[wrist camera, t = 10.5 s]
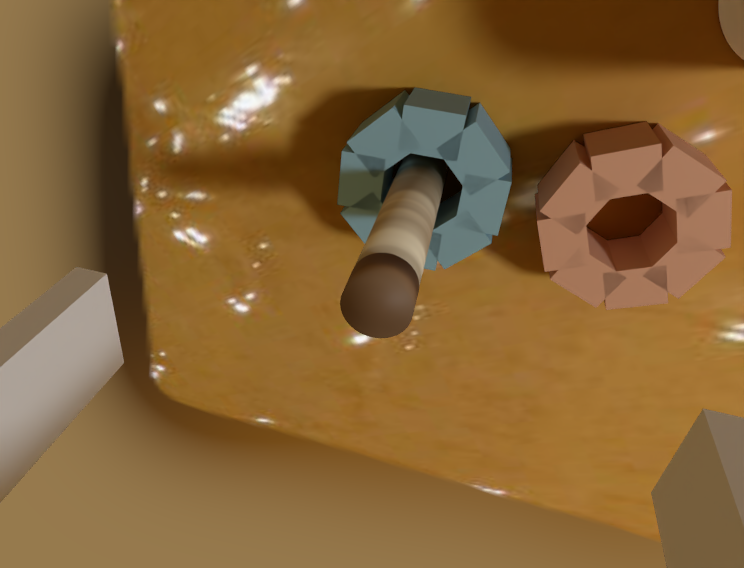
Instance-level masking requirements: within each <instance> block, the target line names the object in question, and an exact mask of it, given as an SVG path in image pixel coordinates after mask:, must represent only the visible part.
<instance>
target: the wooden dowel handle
mask: <svg viewBox="0 0 744 568" xmlns="http://www.w3.org/2000/svg"><path fill="white" fill-rule="evenodd" d="M446 175H447V165H446V162H445V160H444V159H439V158H434V157H428V156H423V155H417V154H412V153H410V154H408V155H407V156H406V157H404V158H403V160H402V162H401V165H400V167H399V169H398V171H397V174H396V176H395V178H394V180H393V182H392V185H391V187H390V189H389V191H388V194H387V196H386V198H385V200H384V203H383V205H382V207H381V209H380V212H379V214H378V216H377V218H376V221H375V223H374V225H373V227H372V229H371V232H370V234H369V236H368V238H367V241H366V243H365V245H364V247H363V250H362V252H361V254H360V256H359V259H358V261H357V263H356V265H355V267H354V269H353V271H352V273H351V275H350V277H349V280H348V282H347V284H346V286H345V289H344V291H343V293H342V296H341V300H340V306H341V311H342V314H343V316H344V318H345V320H346V321H347V322H348V324H349V325H350V326H351V327H353V328H354V329H355V330H357V331H358V332H360V333H362V334H364V335H367V336H370V337H374V338H388V337H392V336H395V335H398V334H400V333H401V332H403V331H404V330H405V329H406V328H407V327H408V325H409V324H410V322H411V320H412V316H413V312H414V308H415V304H416V300H417V296H418V292H419V286H420V281H421V277H422V273H423V269H424V265H425V261H426V257H427V253H428V249H429V245H430V241H431V237H432V232H433V228H434V224H435V220H436V216H437V212H438V208H439V204H440V200H441V196H442V192H443V188H444V183H445V179H446Z"/></svg>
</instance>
